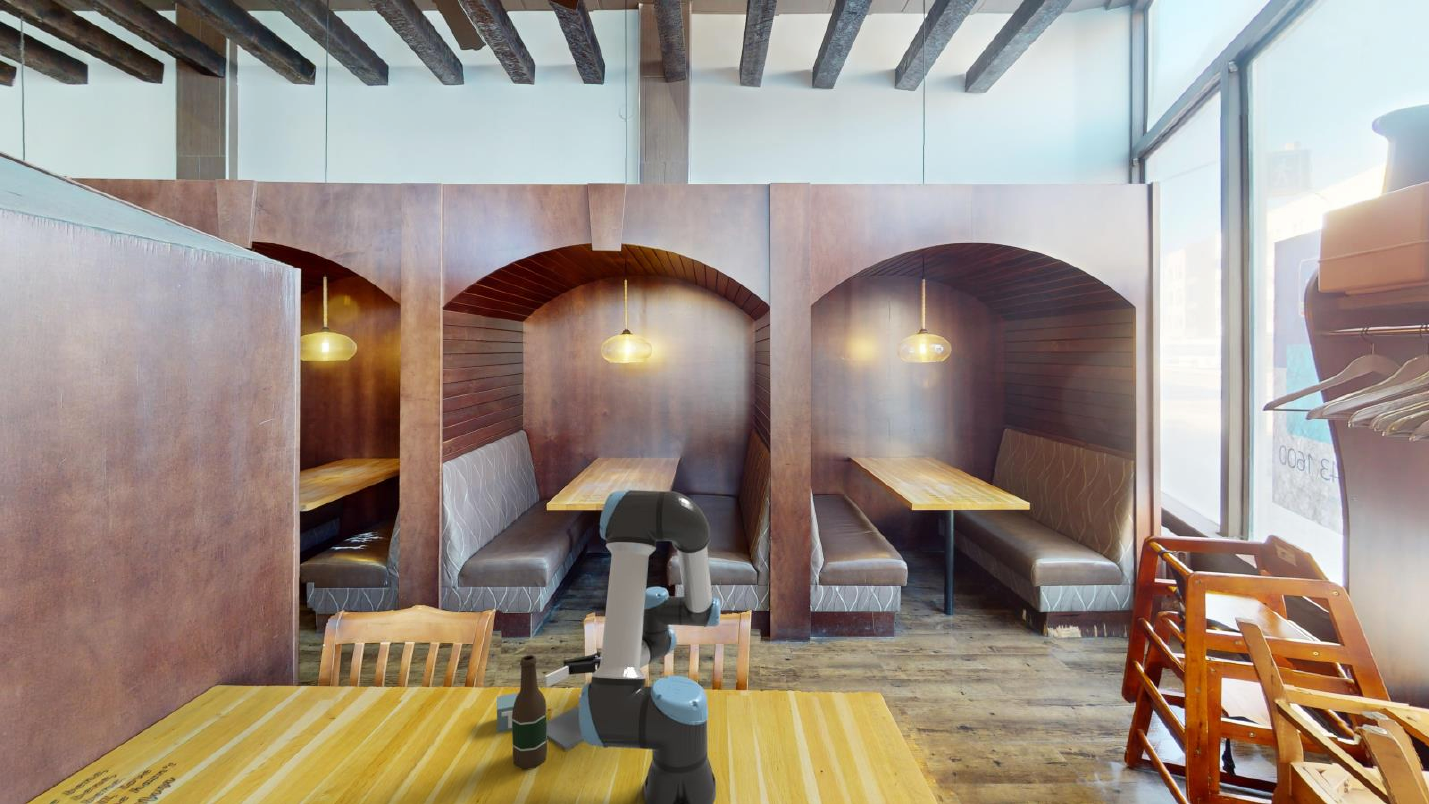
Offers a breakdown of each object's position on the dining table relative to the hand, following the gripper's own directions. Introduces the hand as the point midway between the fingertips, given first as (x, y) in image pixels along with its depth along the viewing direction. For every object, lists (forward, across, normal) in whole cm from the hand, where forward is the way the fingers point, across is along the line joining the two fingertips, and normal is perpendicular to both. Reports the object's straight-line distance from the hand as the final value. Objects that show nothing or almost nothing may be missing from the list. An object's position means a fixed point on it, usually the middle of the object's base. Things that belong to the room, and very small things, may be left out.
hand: (562, 691), depth 142 cm
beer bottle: (+9, 0, -12) cm, 15 cm away
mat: (-4, +2, -12) cm, 13 cm away
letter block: (+5, +16, -12) cm, 20 cm away
